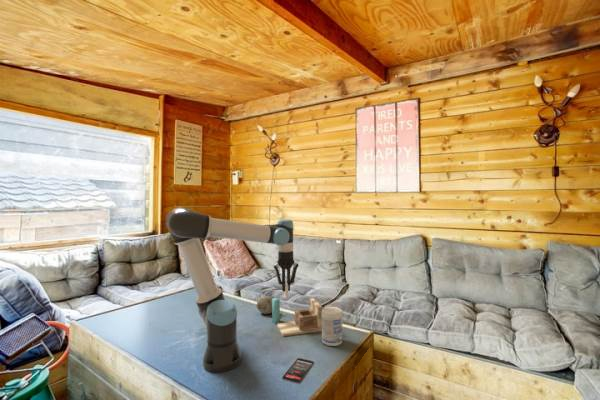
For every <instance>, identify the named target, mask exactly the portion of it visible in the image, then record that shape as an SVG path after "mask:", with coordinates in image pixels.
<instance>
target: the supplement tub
mask: <svg viewBox="0 0 600 400" xmlns="http://www.w3.org/2000/svg"><path fill="white" fill-rule="evenodd" d="M321 341H322V343H323V344H324V345H326V346H329V347H336V346H339V345H341V344H342V343H343V311H342V309H341V308H340V307H337V306H325V307H322V331H321Z"/></svg>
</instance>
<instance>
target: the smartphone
mask: <svg viewBox="0 0 600 400" xmlns="http://www.w3.org/2000/svg"><path fill="white" fill-rule="evenodd" d="M314 363H315V361H313V360H309V359H305V358H300V357H298V358H296V360H295V361H294V362H293V363H292V365H291V366H290V367H289V368H288V370H286V372H285V373H284V374H283V376H282V377H281V379H282V380H284V381H288V382H291V383H294V384H300V383H302V382H303V380H304V378H305V377H306V376H307V374H308V373H309V371H310V369H311V368H312V367H313V365H314Z"/></svg>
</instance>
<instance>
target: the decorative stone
mask: <svg viewBox="0 0 600 400" xmlns="http://www.w3.org/2000/svg"><path fill="white" fill-rule="evenodd" d="M272 299H273V297H271V296H269V295H261V296H260V297H259V298H258V300H257V302H256V308H257V309H258V311H259V312H260V313H261V314H264V315H267V314H270V313H272Z"/></svg>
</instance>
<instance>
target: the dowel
mask: <svg viewBox="0 0 600 400" xmlns="http://www.w3.org/2000/svg"><path fill="white" fill-rule="evenodd" d="M280 303H281V299H280V298H279V297H275V298H274V297H272V312H271V317H272V319H271V320H272V323H273V324H277V323H281V306H280V305H281V304H280Z"/></svg>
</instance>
